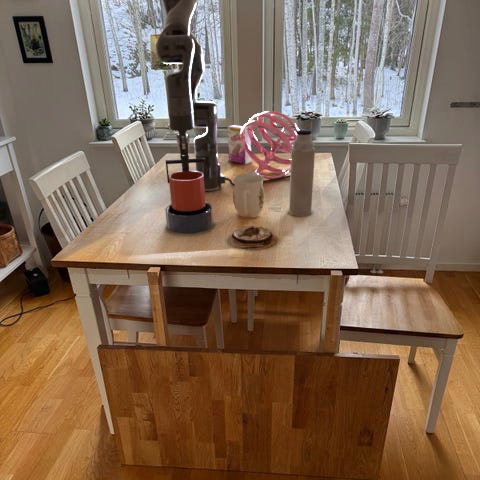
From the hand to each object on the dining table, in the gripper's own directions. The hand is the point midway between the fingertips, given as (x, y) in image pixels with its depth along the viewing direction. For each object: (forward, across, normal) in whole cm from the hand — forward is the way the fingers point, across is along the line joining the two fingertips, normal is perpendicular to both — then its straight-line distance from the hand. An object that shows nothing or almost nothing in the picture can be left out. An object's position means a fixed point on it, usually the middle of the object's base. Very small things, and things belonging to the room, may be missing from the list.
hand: (185, 170), depth 151 cm
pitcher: (+19, +6, -21) cm, 29 cm away
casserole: (+19, 0, 0) cm, 19 cm away
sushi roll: (+19, -16, -19) cm, 31 cm away
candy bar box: (+20, +83, -27) cm, 90 cm away
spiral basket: (+20, +56, -39) cm, 71 cm away
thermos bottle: (+19, +7, -40) cm, 45 cm away
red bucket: (+12, 0, 0) cm, 12 cm away
